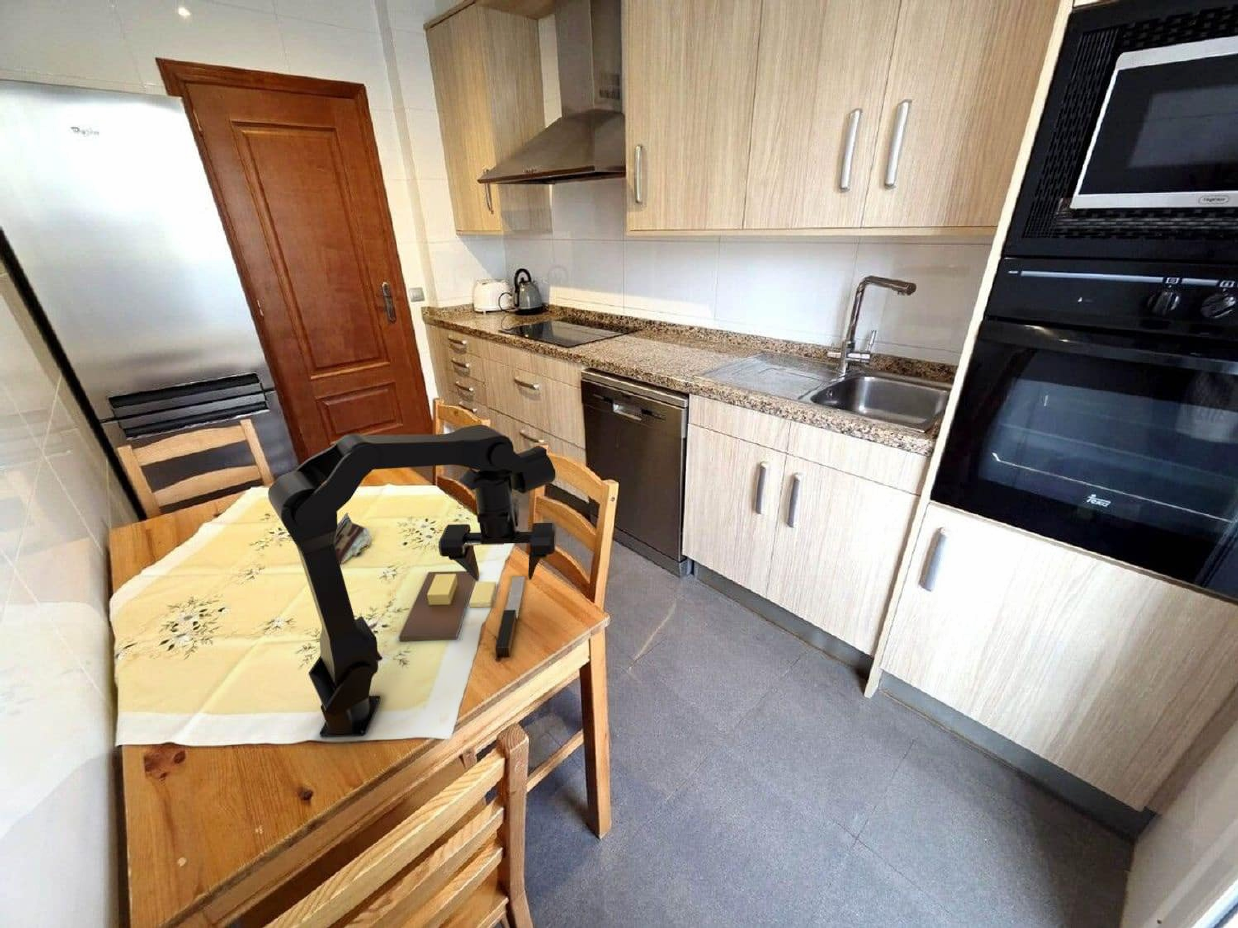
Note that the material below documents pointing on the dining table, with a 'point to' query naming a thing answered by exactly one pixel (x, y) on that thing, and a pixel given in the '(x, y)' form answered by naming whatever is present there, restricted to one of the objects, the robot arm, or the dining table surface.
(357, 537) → the chocolate cake
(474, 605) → the butter slab
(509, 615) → the knife
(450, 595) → the butter block
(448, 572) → the board
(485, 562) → the dining table surface
